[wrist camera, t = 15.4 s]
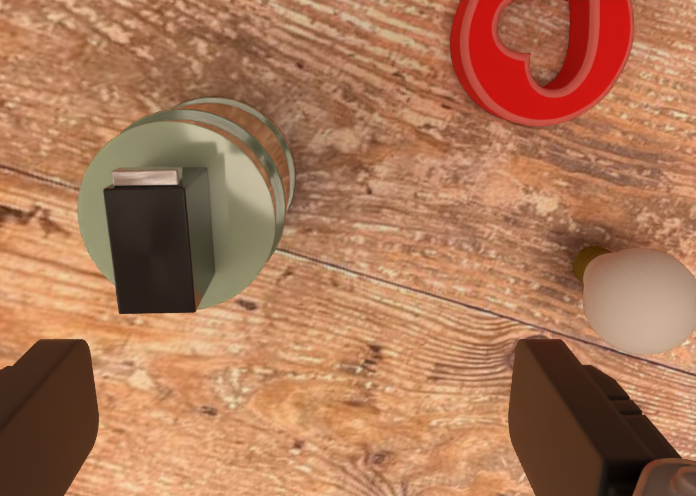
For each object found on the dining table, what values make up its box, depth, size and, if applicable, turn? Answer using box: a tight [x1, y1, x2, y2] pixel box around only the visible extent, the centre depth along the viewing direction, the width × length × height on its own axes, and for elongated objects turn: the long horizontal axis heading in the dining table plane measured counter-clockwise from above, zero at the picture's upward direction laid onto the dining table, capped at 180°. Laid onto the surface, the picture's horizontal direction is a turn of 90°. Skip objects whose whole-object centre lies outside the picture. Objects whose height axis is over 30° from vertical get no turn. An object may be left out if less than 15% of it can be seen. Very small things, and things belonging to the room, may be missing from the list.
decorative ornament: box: [450, 0, 634, 126], centre depth 34 cm, size 10×10×3 cm
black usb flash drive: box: [103, 167, 215, 314], centre depth 25 cm, size 6×3×4 cm, turn 0°
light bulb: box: [573, 246, 696, 355], centre depth 35 cm, size 6×6×10 cm
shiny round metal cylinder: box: [77, 96, 296, 310], centre depth 32 cm, size 10×10×11 cm
